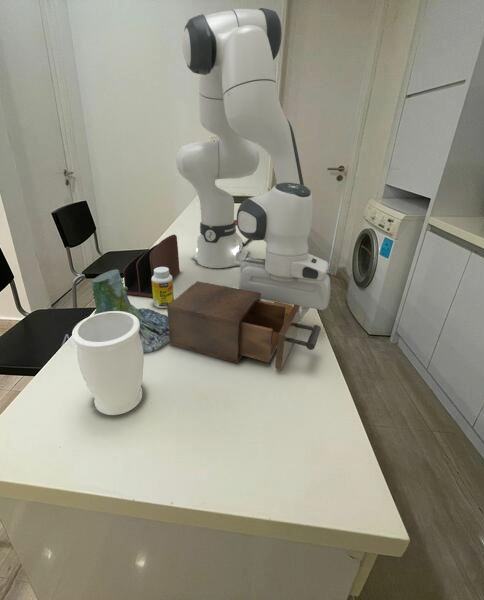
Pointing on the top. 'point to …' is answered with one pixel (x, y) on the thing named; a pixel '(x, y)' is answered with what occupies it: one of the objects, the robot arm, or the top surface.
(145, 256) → the letter holder
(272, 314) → the drawer
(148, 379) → the top surface
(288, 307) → the block
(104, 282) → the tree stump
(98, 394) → the jar
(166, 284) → the supplement bottle
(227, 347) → the cabinet
